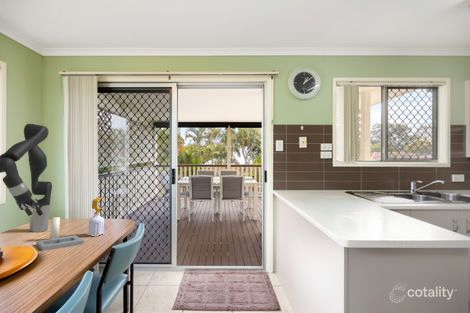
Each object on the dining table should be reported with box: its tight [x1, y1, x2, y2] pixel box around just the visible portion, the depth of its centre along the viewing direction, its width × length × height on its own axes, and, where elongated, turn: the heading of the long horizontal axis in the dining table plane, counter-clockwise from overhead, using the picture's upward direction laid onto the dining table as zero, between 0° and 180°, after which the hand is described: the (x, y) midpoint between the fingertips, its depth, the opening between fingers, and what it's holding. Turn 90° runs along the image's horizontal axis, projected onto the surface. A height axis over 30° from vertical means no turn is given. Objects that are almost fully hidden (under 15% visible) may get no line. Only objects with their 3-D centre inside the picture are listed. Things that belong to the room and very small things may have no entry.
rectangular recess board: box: [35, 235, 85, 252], centre depth 149 cm, size 20×14×2 cm
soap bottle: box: [87, 197, 105, 236], centre depth 171 cm, size 9×9×25 cm
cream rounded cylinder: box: [49, 216, 61, 239], centre depth 157 cm, size 4×4×13 cm
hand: (36, 214), depth 147 cm, fingers open, 8 cm apart
